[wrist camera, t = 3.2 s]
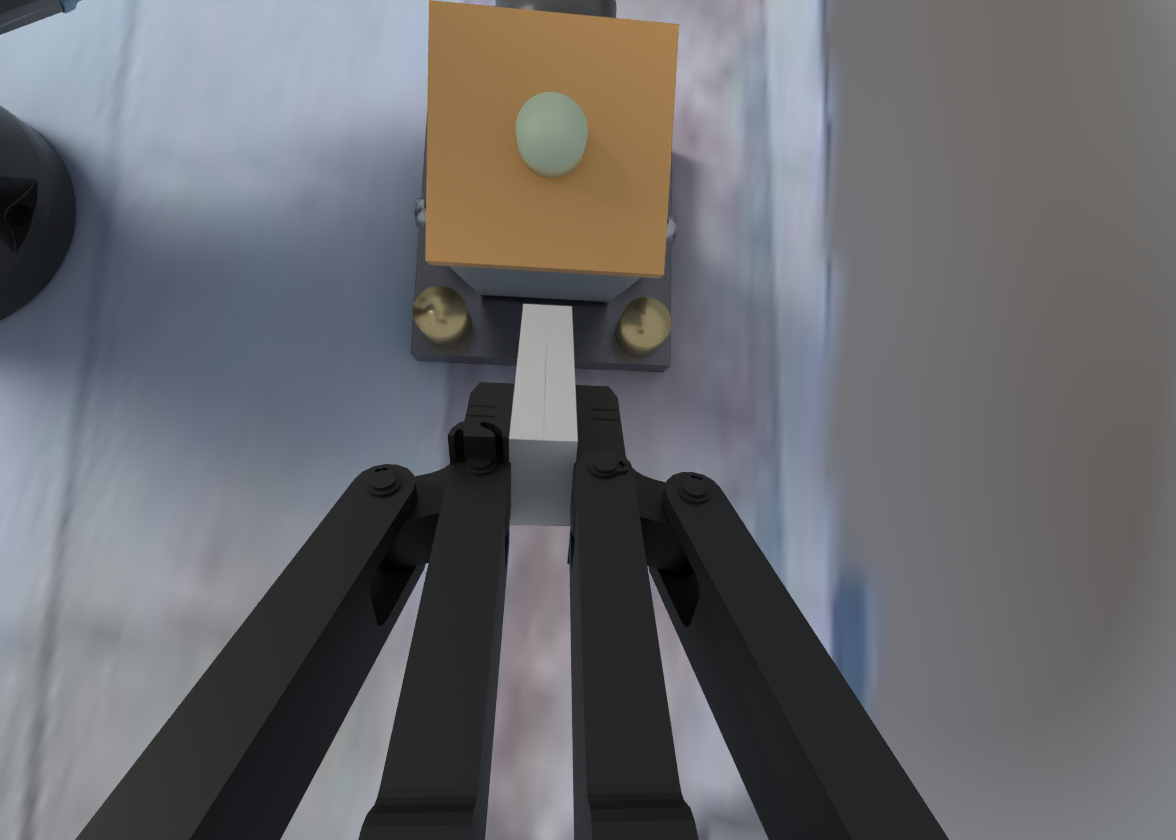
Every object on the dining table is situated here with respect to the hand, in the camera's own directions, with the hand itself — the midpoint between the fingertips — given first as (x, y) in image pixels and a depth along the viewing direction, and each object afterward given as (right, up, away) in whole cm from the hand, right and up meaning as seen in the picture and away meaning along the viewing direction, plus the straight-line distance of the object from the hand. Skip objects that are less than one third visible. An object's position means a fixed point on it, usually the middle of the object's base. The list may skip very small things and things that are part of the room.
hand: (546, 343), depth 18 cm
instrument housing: (-1, +10, +17) cm, 20 cm away
